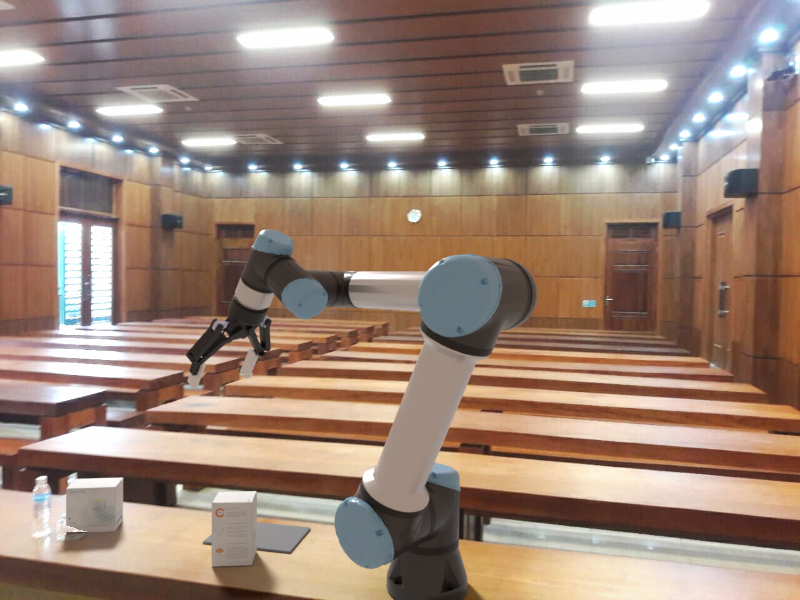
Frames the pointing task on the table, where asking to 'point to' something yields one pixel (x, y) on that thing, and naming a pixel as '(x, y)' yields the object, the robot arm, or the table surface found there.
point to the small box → (234, 528)
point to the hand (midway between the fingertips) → (219, 379)
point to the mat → (276, 537)
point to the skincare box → (95, 504)
